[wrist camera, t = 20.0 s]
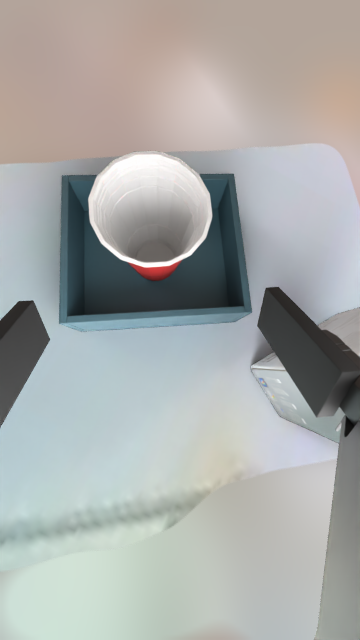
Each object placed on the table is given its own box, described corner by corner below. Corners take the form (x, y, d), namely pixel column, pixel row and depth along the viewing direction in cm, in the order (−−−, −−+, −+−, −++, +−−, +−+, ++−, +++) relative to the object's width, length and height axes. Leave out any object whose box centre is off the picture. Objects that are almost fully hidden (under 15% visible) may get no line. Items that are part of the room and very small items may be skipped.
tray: (80, 331, 30) (58, 323, 24) (80, 210, 33) (61, 175, 27) (234, 322, 32) (252, 312, 25) (221, 207, 35) (233, 173, 28)
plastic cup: (127, 311, 30) (104, 278, 18) (107, 237, 32) (73, 163, 20) (205, 289, 31) (230, 245, 20) (182, 219, 33) (192, 140, 21)
